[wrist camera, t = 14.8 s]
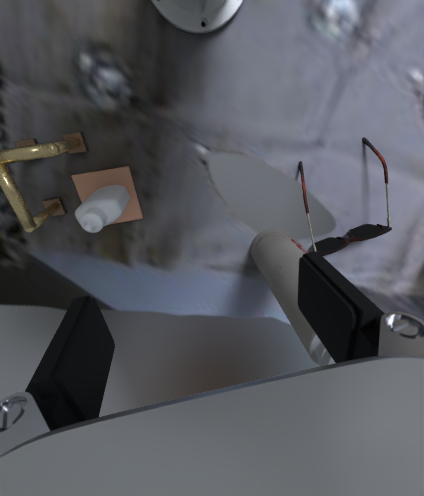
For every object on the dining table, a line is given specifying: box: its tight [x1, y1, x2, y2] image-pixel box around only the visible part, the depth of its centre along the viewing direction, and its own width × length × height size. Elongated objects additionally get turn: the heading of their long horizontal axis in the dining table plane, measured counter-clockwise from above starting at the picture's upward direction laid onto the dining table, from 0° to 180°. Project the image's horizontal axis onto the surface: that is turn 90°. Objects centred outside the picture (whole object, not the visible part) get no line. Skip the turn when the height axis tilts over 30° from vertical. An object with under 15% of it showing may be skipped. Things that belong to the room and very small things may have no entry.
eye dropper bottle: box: [75, 185, 130, 233], centre depth 33 cm, size 4×6×12 cm
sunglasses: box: [299, 137, 392, 256], centre depth 43 cm, size 14×16×5 cm
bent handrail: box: [0, 132, 88, 233], centre depth 32 cm, size 10×8×9 cm
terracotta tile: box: [72, 166, 143, 225], centre depth 38 cm, size 8×8×1 cm
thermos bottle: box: [251, 228, 335, 366], centre depth 35 cm, size 8×8×28 cm
